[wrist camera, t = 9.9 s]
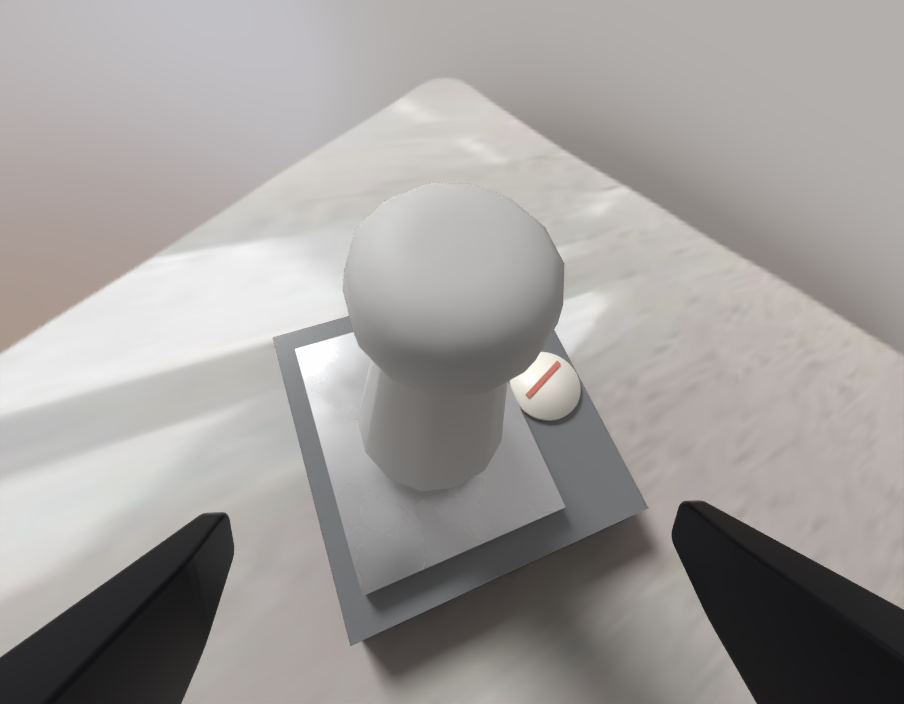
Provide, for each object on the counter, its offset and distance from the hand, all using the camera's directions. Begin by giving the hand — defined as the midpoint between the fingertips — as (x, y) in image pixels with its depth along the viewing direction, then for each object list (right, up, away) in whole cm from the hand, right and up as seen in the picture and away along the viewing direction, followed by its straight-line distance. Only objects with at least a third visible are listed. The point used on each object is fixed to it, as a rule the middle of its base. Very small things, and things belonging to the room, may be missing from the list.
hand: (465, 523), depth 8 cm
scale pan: (-2, 0, +12) cm, 12 cm away
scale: (0, -1, +14) cm, 14 cm away
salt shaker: (-1, 0, +11) cm, 11 cm away
